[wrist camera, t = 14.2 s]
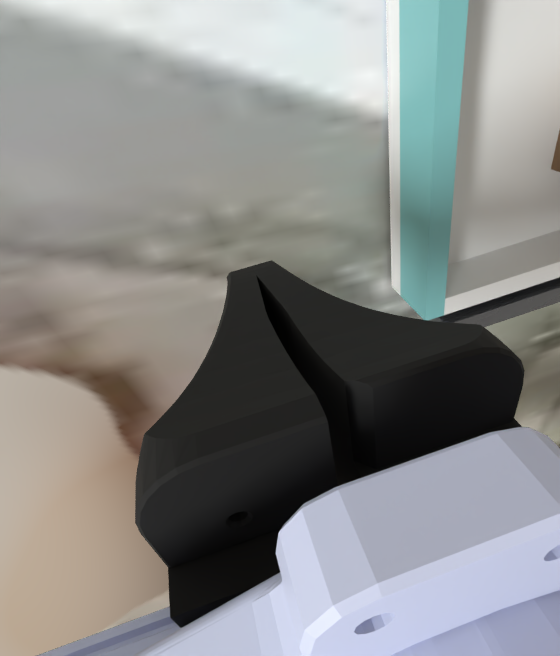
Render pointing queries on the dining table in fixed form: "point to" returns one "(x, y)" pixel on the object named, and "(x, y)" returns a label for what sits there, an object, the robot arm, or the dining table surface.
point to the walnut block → (556, 156)
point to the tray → (472, 149)
